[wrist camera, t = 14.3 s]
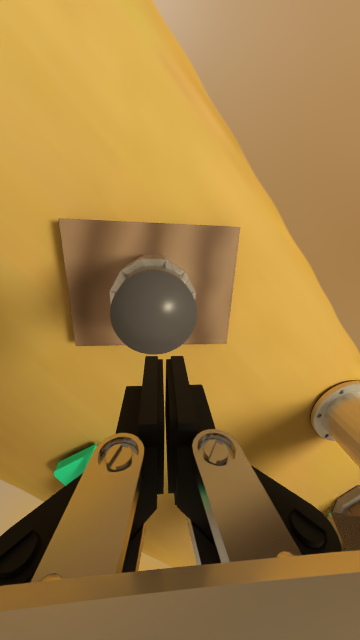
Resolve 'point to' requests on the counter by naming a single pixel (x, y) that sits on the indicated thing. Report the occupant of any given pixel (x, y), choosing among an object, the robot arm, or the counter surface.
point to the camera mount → (73, 465)
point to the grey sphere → (153, 311)
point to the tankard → (349, 503)
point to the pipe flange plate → (142, 251)
